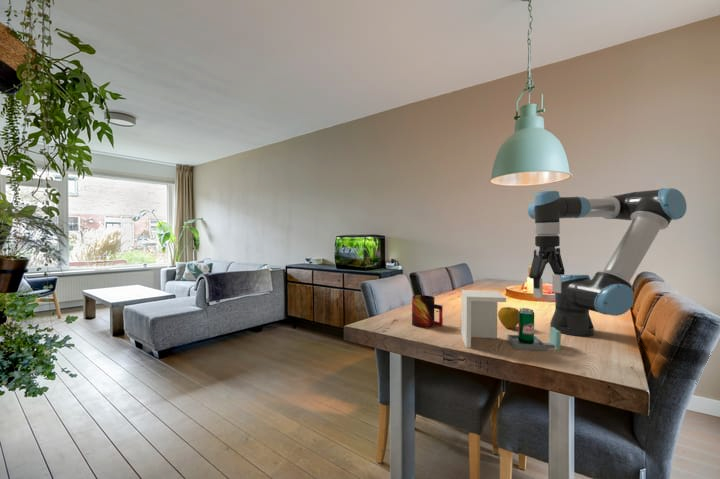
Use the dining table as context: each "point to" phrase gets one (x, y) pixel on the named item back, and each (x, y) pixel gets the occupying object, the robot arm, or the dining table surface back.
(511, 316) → the apple
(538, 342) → the sled
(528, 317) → the soda can
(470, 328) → the cubby
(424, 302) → the mug
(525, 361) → the dining table surface
